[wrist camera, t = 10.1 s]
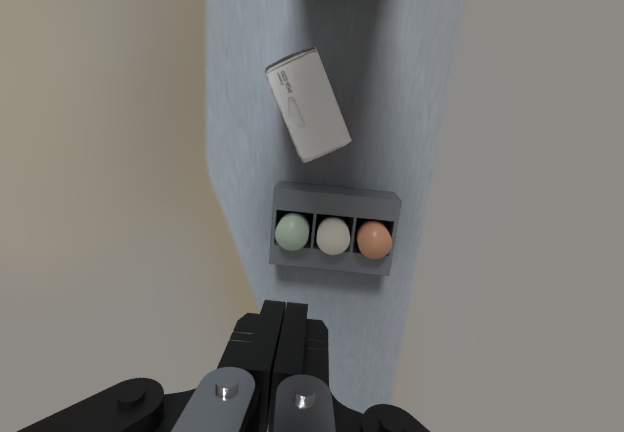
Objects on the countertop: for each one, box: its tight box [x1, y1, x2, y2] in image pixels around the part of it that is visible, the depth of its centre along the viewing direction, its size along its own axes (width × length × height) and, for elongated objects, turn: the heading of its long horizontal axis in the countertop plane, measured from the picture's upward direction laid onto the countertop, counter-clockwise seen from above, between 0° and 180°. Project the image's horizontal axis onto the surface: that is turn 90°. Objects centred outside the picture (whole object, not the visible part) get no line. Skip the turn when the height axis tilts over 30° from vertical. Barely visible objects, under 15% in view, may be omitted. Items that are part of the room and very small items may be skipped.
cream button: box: [317, 216, 350, 255], centre depth 40 cm, size 4×4×3 cm
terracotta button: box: [356, 220, 392, 259], centre depth 40 cm, size 4×4×3 cm
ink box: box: [265, 47, 352, 163], centre depth 35 cm, size 9×5×12 cm, turn 23°
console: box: [269, 181, 401, 276], centre depth 42 cm, size 9×14×4 cm, turn 85°
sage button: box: [275, 212, 310, 251], centre depth 40 cm, size 4×4×3 cm
